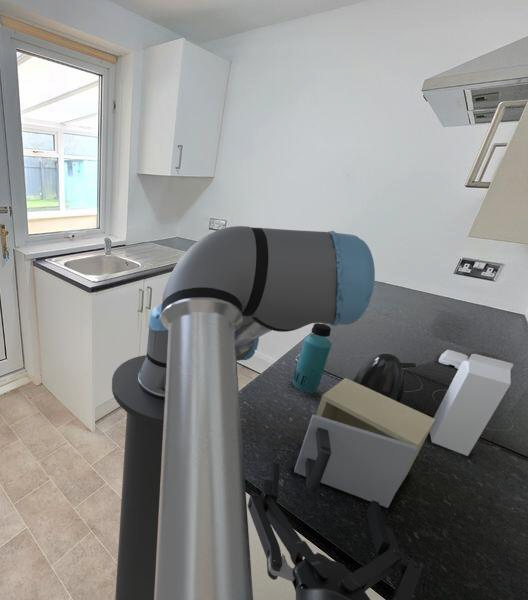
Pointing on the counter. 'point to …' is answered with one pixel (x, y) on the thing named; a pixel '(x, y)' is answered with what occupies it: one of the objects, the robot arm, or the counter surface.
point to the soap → (452, 358)
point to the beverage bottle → (312, 359)
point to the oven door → (353, 460)
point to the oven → (375, 414)
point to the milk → (470, 402)
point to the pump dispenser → (384, 375)
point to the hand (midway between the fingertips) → (321, 487)
